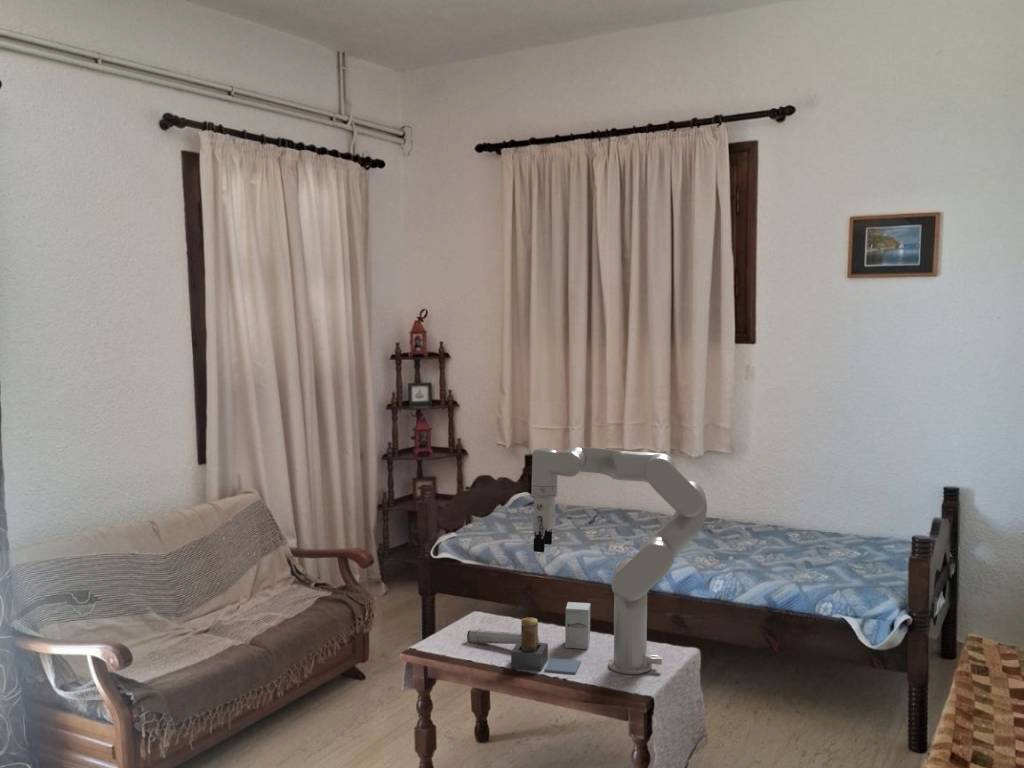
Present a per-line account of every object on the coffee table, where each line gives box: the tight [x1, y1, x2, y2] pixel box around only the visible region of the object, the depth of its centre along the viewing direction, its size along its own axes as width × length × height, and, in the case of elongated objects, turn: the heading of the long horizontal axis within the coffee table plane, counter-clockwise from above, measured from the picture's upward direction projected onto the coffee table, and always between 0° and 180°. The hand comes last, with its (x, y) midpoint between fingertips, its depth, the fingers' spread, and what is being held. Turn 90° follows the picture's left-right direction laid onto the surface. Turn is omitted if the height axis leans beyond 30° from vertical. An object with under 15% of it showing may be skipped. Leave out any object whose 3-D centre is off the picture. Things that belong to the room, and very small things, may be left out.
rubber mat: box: [544, 657, 582, 675], centre depth 255 cm, size 9×9×1 cm
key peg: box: [520, 616, 539, 652], centre depth 257 cm, size 5×5×13 cm
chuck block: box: [510, 641, 549, 672], centre depth 258 cm, size 9×9×5 cm
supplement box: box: [564, 601, 592, 650], centre depth 273 cm, size 7×7×13 cm
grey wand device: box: [466, 628, 543, 645], centre depth 271 cm, size 5×7×25 cm
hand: (542, 547), depth 259 cm, fingers open, 9 cm apart
